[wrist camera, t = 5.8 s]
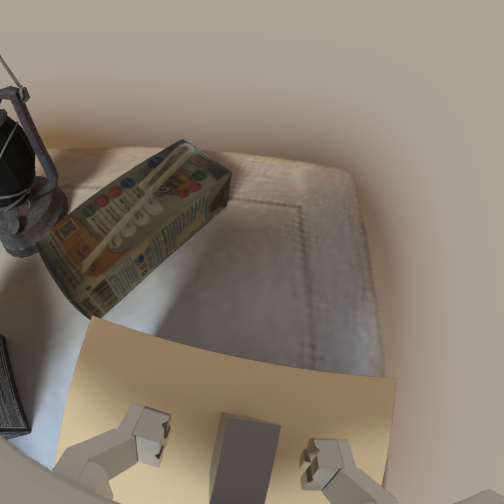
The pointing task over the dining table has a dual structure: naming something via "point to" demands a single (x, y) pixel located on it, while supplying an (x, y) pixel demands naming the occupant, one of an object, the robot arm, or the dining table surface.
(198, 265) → the dining table surface
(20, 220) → the lantern
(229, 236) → the dining table surface
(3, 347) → the small box
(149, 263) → the beverage carton
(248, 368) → the lid flap
